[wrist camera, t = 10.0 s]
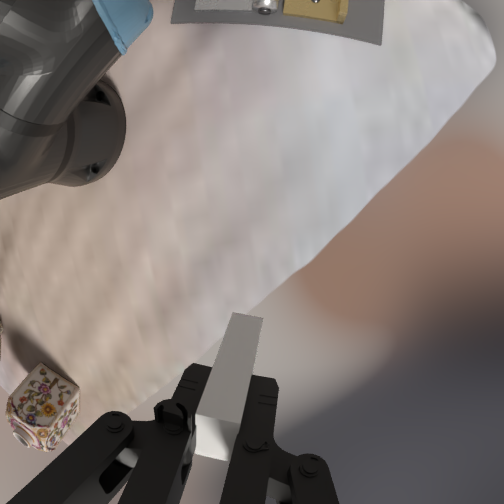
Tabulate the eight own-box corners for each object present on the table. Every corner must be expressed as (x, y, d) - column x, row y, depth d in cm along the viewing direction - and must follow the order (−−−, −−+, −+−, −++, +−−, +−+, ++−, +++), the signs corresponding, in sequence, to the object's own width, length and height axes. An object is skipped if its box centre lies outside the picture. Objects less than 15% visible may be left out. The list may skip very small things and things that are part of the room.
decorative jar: (80, 413, 62) (45, 465, 46) (43, 389, 62) (5, 436, 45) (81, 386, 57) (39, 444, 41) (40, 360, 57) (-6, 410, 41)
